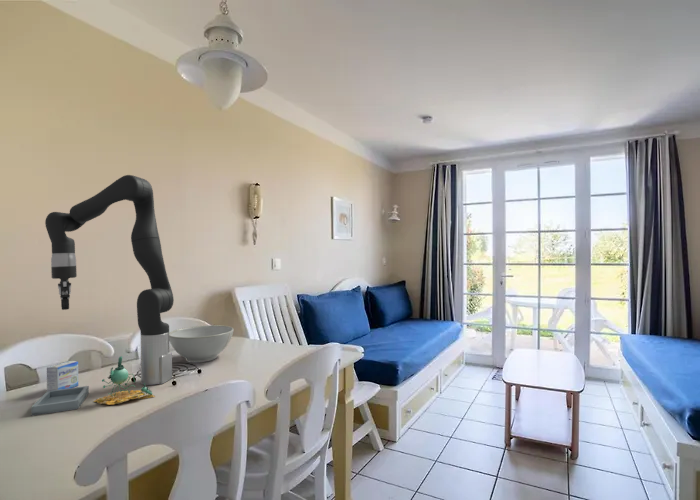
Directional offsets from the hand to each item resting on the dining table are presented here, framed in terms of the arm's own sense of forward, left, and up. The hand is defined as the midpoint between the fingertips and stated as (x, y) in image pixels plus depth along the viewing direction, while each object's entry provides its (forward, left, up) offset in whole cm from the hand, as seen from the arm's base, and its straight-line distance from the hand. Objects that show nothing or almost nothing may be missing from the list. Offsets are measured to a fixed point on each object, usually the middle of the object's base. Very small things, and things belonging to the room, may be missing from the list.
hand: (65, 308), depth 142 cm
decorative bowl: (-39, -28, -26) cm, 55 cm away
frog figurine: (-38, +20, -26) cm, 50 cm away
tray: (-21, +24, -26) cm, 41 cm away
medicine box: (-10, +12, -26) cm, 30 cm away
